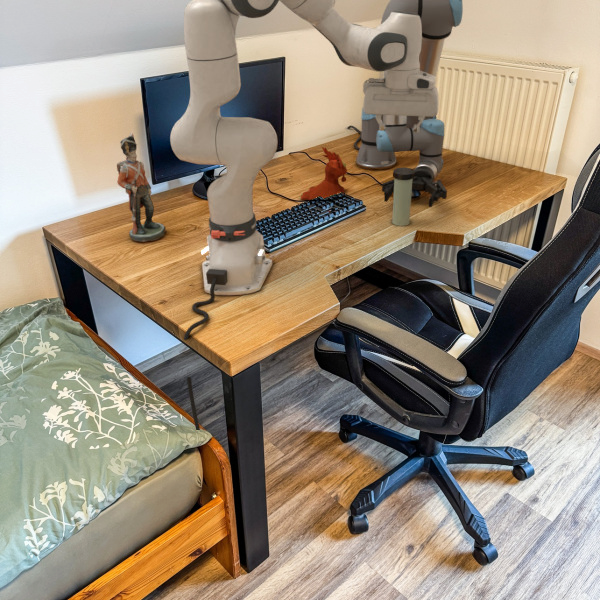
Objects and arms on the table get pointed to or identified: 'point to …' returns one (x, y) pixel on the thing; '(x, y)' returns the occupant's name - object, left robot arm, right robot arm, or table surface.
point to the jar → (401, 202)
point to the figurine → (138, 193)
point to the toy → (329, 178)
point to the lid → (403, 173)
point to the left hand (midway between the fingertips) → (399, 131)
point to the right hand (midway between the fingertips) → (407, 200)
